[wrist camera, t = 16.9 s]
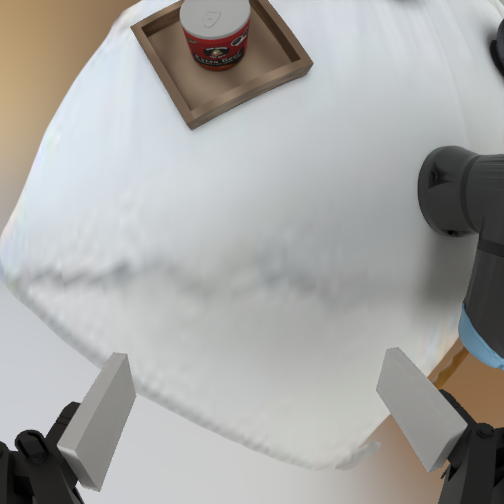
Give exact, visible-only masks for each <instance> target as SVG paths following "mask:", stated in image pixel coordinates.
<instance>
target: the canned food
mask: <svg viewBox="0 0 504 504" xmlns="http://www.w3.org/2000/svg"><path fill="white" fill-rule="evenodd" d="M250 13H251V10H250V3H249V0H185V1H184V3H183V4H182V6H181V9H180V22H181V25H182V29H183V32H184V34H185V37H186V40H187V43H188V46H189V49H190V52H191V54H192V57H193V59H194V60H195V62H196V63H197V64H199V65H200V66H201V67H203V68H205V69H208V70H213V71H221V70H226V69H229V68H231V67H233V66H234V65H236V64H237V63H238V62H239V61H240V60H241V59H242V58H243V56H244V55H245V52H246V49H247V41H248V32H249V24H250Z"/></svg>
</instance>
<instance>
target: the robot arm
mask: <svg viewBox="0 0 504 504" xmlns="http://www.w3.org/2000/svg"><path fill="white" fill-rule="evenodd" d="M418 197H419V203H420V207H421V210H422V213H423V215H424V217H425V219H426V221H427V222H428V224H429V225H430V226H431V227H432V228H433V229H434V230H435V231H436V232H438V233H440V234H443V235H446V236H449V237H464V236H468V235H473V234H478V233H479V241H478V246H477V250H476V256H475V261H474V265H473V270H472V274H471V279H470V282H469V286H468V290H467V293H466V297H465V299H464V301H463V304H462V313H461V317H460V320H459V325H458V332H459V336H460V338H461V341H462V343H463V345H464V346H465V347H466V349H467V350H468V351H469V352H470V353H471V354H472V355H473V356H475V357H476V358H477V359H479V360H480V361H482V362H483V363H485V364H487V365H489V366H491V367H493V368H497V367H499V368H500V369H501V370H504V154H500V155H478V154H476V153H474V152H471V151H469V150H466V149H464V148H462V147H458V146H445V147H440V148H438V149H436V150H434V151H433V152H431V153H430V154H429V156H428V157H427V158H426V160H425V161H424V163H423V165H422V168H421V171H420V175H419V181H418ZM376 391H377V392H378V394H379V395H380V397H381V398H382V400H383V402H384V403H385V405H386V406H387V408H388V409H389V411H390V412H391V414H392V415H393V417H394V419H395V420H396V422H397V423H398V425H399V427H400V428H401V430H402V431H403V433H404V435H405V436H406V438H407V439H408V441H409V443H410V444H411V446H412V447H413V449H414V451H415V452H416V454H417V455H418V457H419V459H420V460H421V462H422V463H423V465H424V467H425V469H426V470H427V472H428V473H429V472H431V471H434V470H436V469H438V468H441V467H442V466H443V464H444V463H445V461H446V460H447V459H448V460H449V462H450V465H449V466H448V467H447V469H446V470H445V472H444V473H443V475H442V476H441V479H442V478H443V477H444V476H445V475H446V477H445V481H444V484H443V488H442V492H441V495H440V499H439V502H438V504H504V427H503V428H496V429H494V428H493V427H492V426H490V425H489V424H486V423H478V424H477V423H476V422H475V421H474V419H473V418H472V417H471V416H470V415H469V414H468V413H467V412H466V410H465V409H464V408H463V407H461V405H460V404H459V403H458V402H456V399H454V397H453V396H452V395H451V394H449V393H448V392H446V391H444V390H443V389H441V390H437V389H436V387H435V386H434V385H433V384H432V383H431V382H430V381H429V380H428V379H427V377H426V376H425V375H424V374H423V373H422V372H421V371H420V370H419V369H418V368H417V367H416V365H415V364H414V363H413V362H412V361H411V360H410V359H409V358H408V357H407V356H406V355H405V354H404V352H403V351H402V350H401V349H400V348H399V347H398V348H391V349H387V350H386V354H385V358H384V362H383V366H382V370H381V374H380V377H379V381H378V384H377V388H376ZM135 398H136V393H135V388H134V384H133V380H132V375H131V371H130V366H129V361H128V356H127V354H123V353H114V352H113V354H112V355H111V357H110V358H109V360H108V361H107V363H106V364H105V366H104V367H103V369H102V371H101V372H100V374H99V375H98V377H97V379H96V380H95V382H94V383H93V385H92V386H91V388H90V390H89V392H88V393H87V395H86V396H85V398H84V400H83V401H82V403H77V402H71V403H70V404H69V405H67V406H66V407H65V408H64V409H63V410H62V412H61V414H60V415H59V417H58V418H57V420H56V423H54V425H53V426H52V428H51V429H50V431H49V432H48V434H47V436H46V438H44V436H43V435H42V434H41V433H40V432H39V431H36V430H26V431H23V432H21V433H20V434H18V435H17V437H16V439H15V446H16V448H17V449H18V451H10V450H9V449H8V447H7V446H6V444H5V443H3V442H1V441H0V504H84V502H83V500H82V498H81V496H80V494H79V492H78V490H77V488H76V487H75V486H76V483H77V481H79V482H80V484H81V485H82V486H83V487H84V488H87V489H91V490H94V491H98V492H100V490H101V487H102V485H103V481H104V479H105V476H106V473H107V471H108V468H109V465H110V462H111V459H112V457H113V454H114V451H115V449H116V446H117V444H118V441H119V438H120V436H121V433H122V430H123V428H124V425H125V423H126V421H127V418H128V416H129V413H130V410H131V408H132V406H133V403H134V401H135Z"/></svg>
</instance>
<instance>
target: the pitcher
mask: <svg viewBox="0 0 504 504" xmlns="http://www.w3.org/2000/svg"><path fill="white" fill-rule="evenodd" d="M490 52H491V56H492V59H493V61H494V63H495V65H496V66H497V68H498V70H499V71H500V72H501V73H502V75H503V76H504V19H503V20H502V22H501V23H500V25H499V28H498V32H497V40H493V41H492V42H491V45H490Z"/></svg>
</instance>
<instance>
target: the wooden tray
mask: <svg viewBox="0 0 504 504" xmlns="http://www.w3.org/2000/svg"><path fill="white" fill-rule="evenodd" d="M184 1H185V0H180V1H178V2H176V3H174V4H172V5H170V6H168V7H166V8H164V9H162V10H160V11H158V12H156V13H154V14H152V15H150V16H148V17H147V18H145V19H143V20H141V21H139V22H138V23H136V24H134V25H133V26H131V27H130V28H131V29H132V31H133V33H134V34H135V36H136V38H137V40H138V41H139V43H140V45H141V47H142V48H143V50H144V52H145V53H146V55H147V57H148V59H149V60H150V62H151V64H152V65H153V67H154V69H155V71H156V72H157V74H158V76H159V78H160V79H161V81H162V83H163V84H164V86H165V88H166V90H167V91H168V93H169V95H170V97H171V98H172V100H173V102H174V104H175V105H176V107H177V109H178V111H179V112H180V114H181V116H182V117H183V119H184V121H185V123H186V124H187V126H188V127H189V128H190V129H191V130H193V129H195V128H197V127H198V126H200V125H202V124H204V123H206V122H207V121H209V120H211V119H213V118H215V117H217V116H218V115H220V114H222V113H224V112H226V111H228V110H230V109H232V108H234V107H236V106H238V105H240V104H242V103H244V102H246V101H248V100H250V99H252V98H254V97H256V96H258V95H260V94H263V93H265V92H267V91H269V90H271V89H273V88H276V87H278V86H280V85H283V84H285V83H287V82H289V81H292V80H294V79H297V78H299V77H301V76H304V75H306V74H307V72H308V71H309V70H310V68H311V67H312V65H313V64H314V63H313V62H312V60H311V59H310V57H309V56H308V54H307V53H306V51H305V50H304V48H303V47H302V45H301V44H300V42H299V41H298V40H297V38H296V37H295V35H294V34H293V33H292V31H291V30H290V29H289V27H288V26H287V25H286V23H285V22H284V21H283V19H282V18H281V17H280V15H279V14H278V13H277V11H276V10H275V9H274V8H273V6H272V5H271V4H270V3H269V1H268V0H249V3H250V10H251V13H250V24H249V32H248V41H247V49H246V52H245V55H244V56H243V58H242V59H241V60H240V61H239V62H238V63H237V64H236V65H234V66H233V67H231V68H229V69H226V70H221V71H213V70H208V69H205V68H203V67H201V66H200V65H199V64H197V63H196V62H195V60H194V59H193V57H192V54H191V52H190V49H189V46H188V43H187V40H186V37H185V34H184V32H183V29H182V25H181V22H180V9H181V6H182V4H183V3H184Z"/></svg>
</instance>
